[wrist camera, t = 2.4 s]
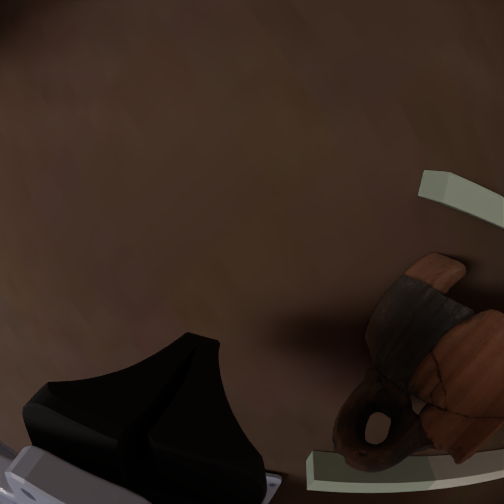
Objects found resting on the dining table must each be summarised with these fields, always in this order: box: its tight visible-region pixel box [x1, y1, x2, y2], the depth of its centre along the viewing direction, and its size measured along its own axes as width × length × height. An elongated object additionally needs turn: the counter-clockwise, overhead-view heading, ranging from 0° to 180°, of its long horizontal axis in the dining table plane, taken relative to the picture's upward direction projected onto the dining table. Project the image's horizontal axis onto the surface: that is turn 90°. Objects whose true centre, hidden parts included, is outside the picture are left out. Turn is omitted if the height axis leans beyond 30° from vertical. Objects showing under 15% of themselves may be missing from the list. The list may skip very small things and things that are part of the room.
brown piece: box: [332, 252, 504, 473], centre depth 13 cm, size 12×9×8 cm
